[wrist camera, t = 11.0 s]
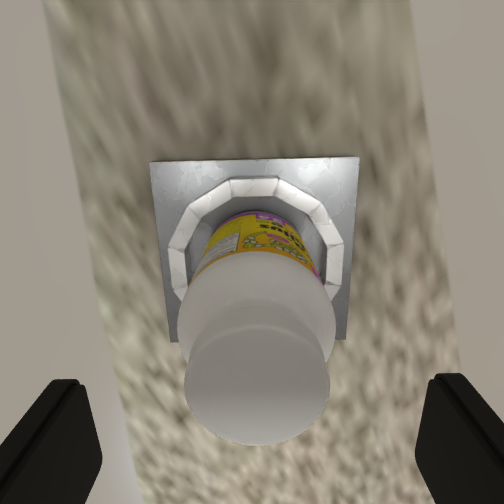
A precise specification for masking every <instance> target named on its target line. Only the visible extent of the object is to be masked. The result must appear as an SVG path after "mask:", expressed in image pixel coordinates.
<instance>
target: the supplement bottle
mask: <svg viewBox="0 0 504 504" xmlns="http://www.w3.org/2000/svg"><path fill="white" fill-rule="evenodd" d="M177 333H178V340H179V345H180V348H181V351H182V354H183V356H184V358H185V360H186V362H187V364H188V365H187V369H186V374H185V382H184V388H185V396H186V400H187V403H188V406H189V408H190V410H191V412H192V413H193V415H194V416H195V418H196V419H197V420H198V421H199V422H200V424H202V425H203V426H204V427H205V428H206V429H207V430H208V431H210V432H211V433H213V434H215V435H216V436H218V437H220V438H222V439H225V440H227V441H230V442H233V443H237V444H241V445H248V446H267V445H273V444H278V443H281V442H285V441H287V440H290V439H292V438H294V437H296V436H298V435H299V434H301V433H302V432H304V431H305V430H307V429H308V428H309V427H310V426H311V425H312V424H313V423H314V422H315V421H316V420H317V419H318V417H319V416H320V415H321V413H322V412H323V410H324V408H325V406H326V404H327V401H328V398H329V392H330V376H329V372H328V368H327V364H326V362H327V360H328V358H329V356H330V354H331V351H332V349H333V345H334V341H335V334H336V320H335V314H334V309H333V306H332V303H331V301H330V298H329V296H328V294H327V292H326V290H325V288H324V286H323V283H322V281H321V279H320V277H319V275H318V272H317V270H316V268H315V265H314V263H313V261H312V259H311V257H310V255H309V253H308V250H307V248H306V246H305V244H304V242H303V240H302V238H301V236H300V235H299V233H298V232H297V230H296V229H295V228H294V227H293V226H292V225H291V224H290V223H289V222H287V221H286V220H284V219H283V218H281V217H279V216H277V215H274V214H271V213H268V212H261V211H251V212H244V213H241V214H238V215H235V216H233V217H231V218H229V219H228V220H226V221H225V222H224V223H223V224H222V225H220V226H219V227H218V229H217V230H216V231H215V232H214V234H213V235H212V237H211V238H210V240H209V242H208V244H207V246H206V249H205V251H204V253H203V256H202V258H201V260H200V262H199V264H198V267H197V269H196V271H195V274H194V276H193V278H192V280H191V282H190V284H189V286H188V289H187V291H186V293H185V296H184V298H183V300H182V303H181V306H180V309H179V314H178V321H177Z"/></svg>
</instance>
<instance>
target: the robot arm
mask: <svg viewBox="0 0 504 504" xmlns="http://www.w3.org/2000/svg"><path fill="white" fill-rule="evenodd" d="M415 459H416V463H417V466H418V468H419V470H420V472H421V474H422V476H423V478H424V480H425V483H426V485H427V487H428V489H429V491H430V493H431V495H432V497H433V499H434V501H435V503H436V504H504V423H503V422H502V420H501V419H500V418H499V417H498V416H497V415H496V413H495V412H494V411H493V410H492V408H491V407H490V406H489V405H488V404H487V403H486V401H485V400H484V399H483V398H482V397H481V395H480V394H479V393H478V392H477V391H476V389H475V388H474V387H473V386H472V385H471V383H470V382H469V381H468V380H467V379H466V378H465V376H464V375H462V374H460V373H439V374H436V375H435V377H434V379H431V380H430V381H429V383H428V388H427V393H426V398H425V403H424V407H423V412H422V417H421V422H420V427H419V432H418V437H417V442H416V447H415ZM101 465H102V452H101V448H100V444H99V440H98V436H97V432H96V428H95V424H94V420H93V416H92V412H91V408H90V404H89V400H88V396H87V392H86V388H85V386H84V385H80V383H79V381H78V380H77V379H56V380H53V381H51V382H50V384H49V385H48V386H47V387H46V388H45V390H44V391H43V392H42V393H41V395H40V396H39V397H38V399H37V400H36V401H35V402H34V403H33V405H32V406H31V407H30V409H29V410H28V411H27V412H26V414H25V415H24V416H23V417H22V419H21V420H20V421H19V422H18V424H17V425H16V426H15V428H14V429H13V430H12V431H11V432H10V434H9V435H8V436H7V437H6V439H5V440H4V441H3V443H2V444H1V445H0V504H85V502H86V500H87V498H88V496H89V493H90V491H91V489H92V487H93V484H94V482H95V480H96V477H97V475H98V473H99V471H100V468H101Z"/></svg>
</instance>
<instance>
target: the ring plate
mask: <svg viewBox="0 0 504 504" xmlns="http://www.w3.org/2000/svg"><path fill="white" fill-rule="evenodd" d="M359 159H360V157H357V156H343V157H303V158H264V159H224V160H185V161H153V162H149V168H150V177H151V185H152V193H153V201H154V209H155V218H156V226H157V234H158V242H159V251H160V259H161V267H162V275H163V284H164V292H165V300H166V308H167V317H168V325H169V333H170V341H171V342H179V340H178V333H177V321H178V314H179V309H180V306H181V303H182V300H183V298H184V296H185V293H186V291H187V289H188V286H189V284H190V282H191V280H192V278H193V276H194V274H195V271H196V269H197V267H198V264H199V262H200V260H201V258H202V256H203V253H204V251H205V249H206V246H207V244H208V242H209V240H210V238H211V237H212V235H213V234H214V232H215V231H216V230H217V229H218V227H219V226H220V225H222V224H223V223H224V222H225V221H226V220H228V219H229V218H231V217H233V216H235V215H238V214H241V213H244V212H251V211H261V212H268V213H271V214H274V215H277V216H279V217H281V218H283V219H284V220H286V221H287V222H289V223H290V224H291V225H292V226H293V227H294V228H295V229H296V230H297V232H298V233H299V235H300V236H301V238H302V240H303V242H304V244H305V246H306V248H307V250H308V253H309V255H310V257H311V259H312V261H313V263H314V265H315V268H316V270H317V272H318V275H319V277H320V279H321V281H322V283H323V286H324V288H325V290H326V292H327V294H328V296H329V298H330V301H331V303H332V306H333V309H334V314H335V320H336V334H335V340H339V339H346V328H347V315H348V302H349V289H350V276H351V263H352V250H353V237H354V224H355V211H356V198H357V185H358V172H359Z"/></svg>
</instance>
